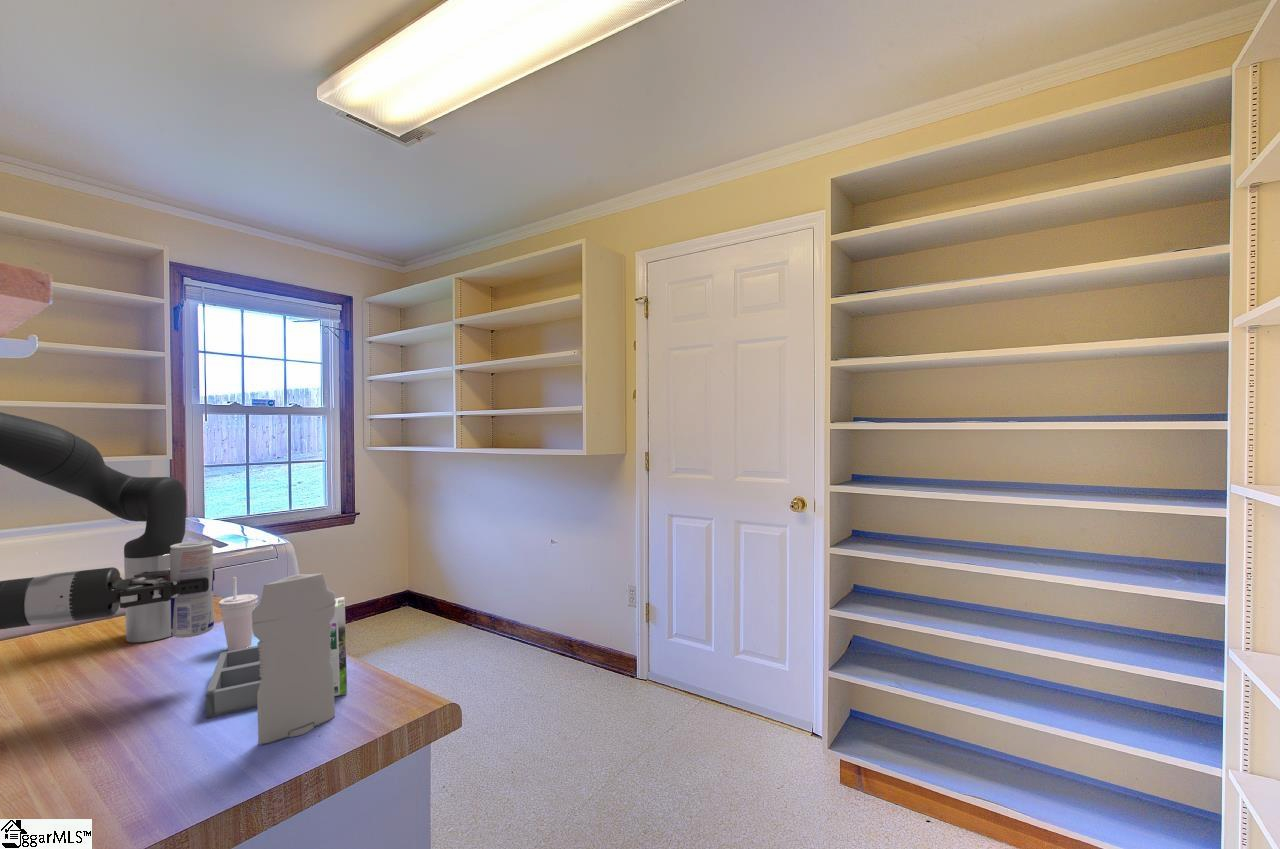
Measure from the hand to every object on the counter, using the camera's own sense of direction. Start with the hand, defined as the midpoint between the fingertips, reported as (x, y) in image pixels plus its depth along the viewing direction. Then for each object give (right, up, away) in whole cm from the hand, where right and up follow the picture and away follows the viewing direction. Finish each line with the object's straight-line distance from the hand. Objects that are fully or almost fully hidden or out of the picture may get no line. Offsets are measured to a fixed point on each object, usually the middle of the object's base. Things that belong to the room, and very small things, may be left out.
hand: (211, 579), depth 96 cm
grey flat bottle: (+24, -17, -15) cm, 33 cm away
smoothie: (-6, -18, +16) cm, 25 cm away
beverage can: (-2, -9, -1) cm, 9 cm away
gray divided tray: (+7, -18, -1) cm, 19 cm away
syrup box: (+22, -17, -3) cm, 28 cm away
